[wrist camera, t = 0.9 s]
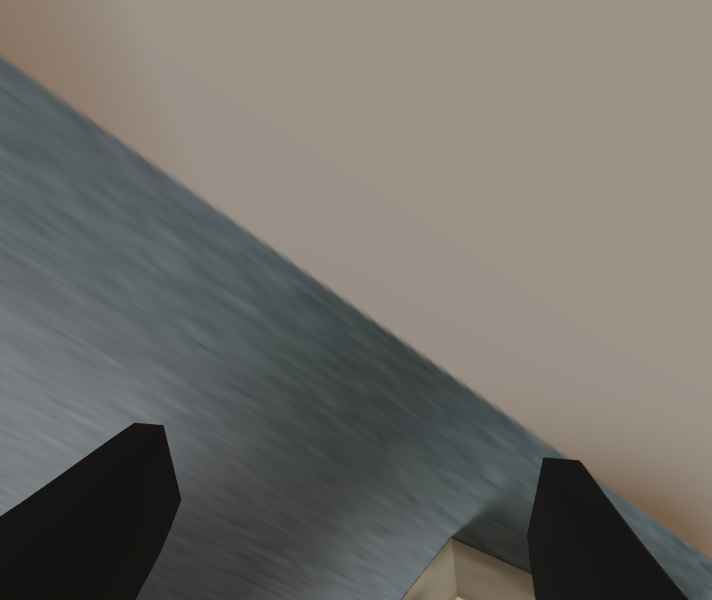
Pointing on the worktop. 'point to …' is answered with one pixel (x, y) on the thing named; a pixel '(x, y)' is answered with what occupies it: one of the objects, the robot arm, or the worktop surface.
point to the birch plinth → (470, 577)
